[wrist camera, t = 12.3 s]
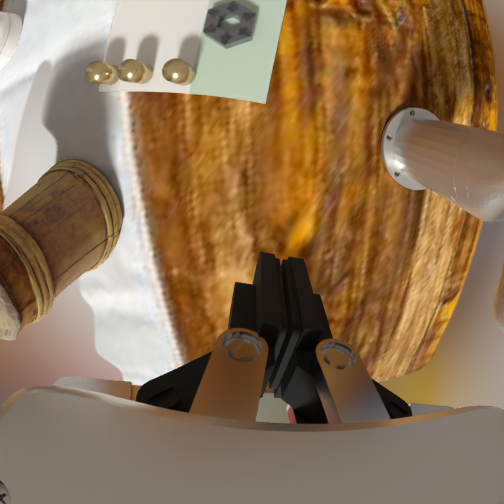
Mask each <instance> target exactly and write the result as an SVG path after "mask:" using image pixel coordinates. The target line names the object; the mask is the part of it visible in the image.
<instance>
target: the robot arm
mask: <svg viewBox="0 0 504 504" xmlns="http://www.w3.org/2000/svg"><path fill="white" fill-rule="evenodd" d="M387 135H388V138H387ZM381 154H382V158H383V162H384V165H385V167H386V169H387V171H388V172H389V174H390V175H391V177H392V178H393V179H394V180H395V181H396V182H398V183H399V184H401V185H402V186H404V187H406V188H409V189H413V190H422V189H426V188H429V189H431V190H432V191H434V192H436V193H438V194H439V195H441V196H443V197H444V198H446V199H448V200H449V201H451V202H453V203H454V204H456V205H457V206H459V207H461V208H462V209H464V210H465V211H467V212H468V213H470V214H471V215H473V216H475V217H476V218H478V219H480V220H483V221H487V222H498V221H502V220H504V134H503V133H499V132H495V131H490V130H486V129H481V128H477V127H472V126H467V125H462V124H456V123H450V122H444V121H440V119H439V118H437V117H436V116H435V115H434V114H433V113H431V112H430V111H428V110H425V109H422V108H406V109H402V110H400V111H398V112H397V113H396V114H394V115H393V116H392V117H391V118H390V120H389V121H388V122H387V124H386V126H385V128H384V131H383V135H382V140H381ZM395 172H396V173H395ZM493 312H494V317H495V321H496V323H497V325H498V327H499V329H500V330H501V332H502V333H503V334H504V264H503V267H502V271H501V274H500V278H499V281H498V285H497V288H496V292H495V297H494V305H493ZM268 382H269V388H270V389H274V397H275V398H281V399H282V400H284V401H285V402H286V403H287V414H288V418H289V422H290V424H287V423H268V422H255V421H256V415H257V410H258V405H259V400H260V398H262V397H263V394H264V392H265V389H266V387H267V384H268ZM0 504H504V410H503V409H500V408H496V407H492V406H469V407H462V408H456V409H454V408H452V407H448V406H436V405H426V404H417V403H410V404H409V405H408V404H407V403H406V402H405V401H404V400H402V399H401V398H400V397H398V396H397V395H395V394H394V393H392V392H391V391H389V390H388V389H386V388H385V387H383V386H382V385H380V384H379V383H377V382H376V381H374V380H373V379H372V378H371V377H370V375H369V373H368V371H367V369H366V367H365V365H364V363H363V361H362V359H361V358H360V356H359V354H358V352H357V351H356V349H355V348H354V347H352V346H351V345H350V344H348V343H347V342H345V341H342V340H339V339H333V338H332V334H331V330H330V327H329V323H328V320H327V316H326V313H325V310H324V306H323V303H322V299H321V297H320V295H319V294H313V290H312V287H311V283H310V280H309V276H308V273H307V269H306V266H305V262H304V259H300V258H294V257H289V258H288V260H284V259H283V261H282V264H281V266H280V259H278V258H275V254H270V253H264V252H260V253H259V257H258V262H257V266H256V271H255V275H254V280H253V284H246V283H239V282H235V286H234V291H233V297H232V303H231V309H230V316H229V323H228V330H226V331H224V332H223V333H222V334H220V336H219V337H218V339H217V341H216V344H215V346H214V349H213V351H212V352H210V353H208V354H206V355H204V356H202V357H200V358H198V359H196V360H193V361H191V362H189V363H187V364H185V365H183V366H181V367H179V368H177V369H174V370H172V371H170V372H168V373H166V374H164V375H161V376H159V377H157V378H155V379H152V380H150V381H148V382H147V383H145V384H144V385H142V386H136V385H132V383H131V382H125V381H112V380H103V379H94V378H85V377H77V376H65V377H62V378H60V379H58V380H57V381H56V382H55V383H54V385H53V386H35V387H28V388H24V389H21V390H19V391H17V392H16V393H14V394H12V395H11V396H10V397H9V398H8V399H7V400H6V401H5V402H4V403H3V405H2V406H1V408H0Z"/></svg>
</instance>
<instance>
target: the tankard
mask: <svg viewBox="0 0 504 504" xmlns="http://www.w3.org/2000/svg"><path fill="white" fill-rule="evenodd" d="M121 225H122V212H121V208H120V203H119V201H118V198H117V196H116V194H115V192H114V190H113V188H112V186H111V185H110V183H109V182H108V180H107V179H106V178H105V177H104V175H102V174H101V173H100V172H99V171H98V170H97V169H95V168H94V167H92V166H91V165H89V164H87V163H85V162H83V161H79V160H67V161H63V162H59V163H57V164H55V165H54V166H53V167H51V168H50V170H48V171H47V172H46V173H45V174H44V175H43V176H42V177H41V178H40V179H39V180H38V182H37V184H35V185H34V186H33V187H32V188H30V189H29V190H28V191H27V192H25V193H24V194H23V195H22V196H21V197H19V198H18V199H17V200H16V201H15V202H13V203H12V204H11V205H10V206H9V207H7V208H6V209H5V210H4V211H3V212H1V213H0V339H3V340H14V339H17V336H18V334H19V332H20V331H21V330H22V329H23V328H24V327H25V326H26V325H29V324H32V323H34V322H36V321H39V320H41V319H42V318H43V316H45V315H46V314H47V313H48V312H49V311H50V309H51V307H52V305H53V301H54V298H55V297H56V296H57V295H58V294H60V293H61V292H62V291H63V290H64V289H65V288H66V287H67V286H68V285H70V284H71V283H72V282H74V281H75V280H76V279H77V278H79V277H80V276H81V275H82V274H84V273H85V272H89V271H91V270H93V269H95V268H97V267H98V266H99V265H101V264H102V263H104V262H105V260H106V259H107V258H108V257H109V255H110V254H111V252H112V251H113V249H114V247H115V246H116V244H117V241H118V238H119V234H120V228H121Z"/></svg>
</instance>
